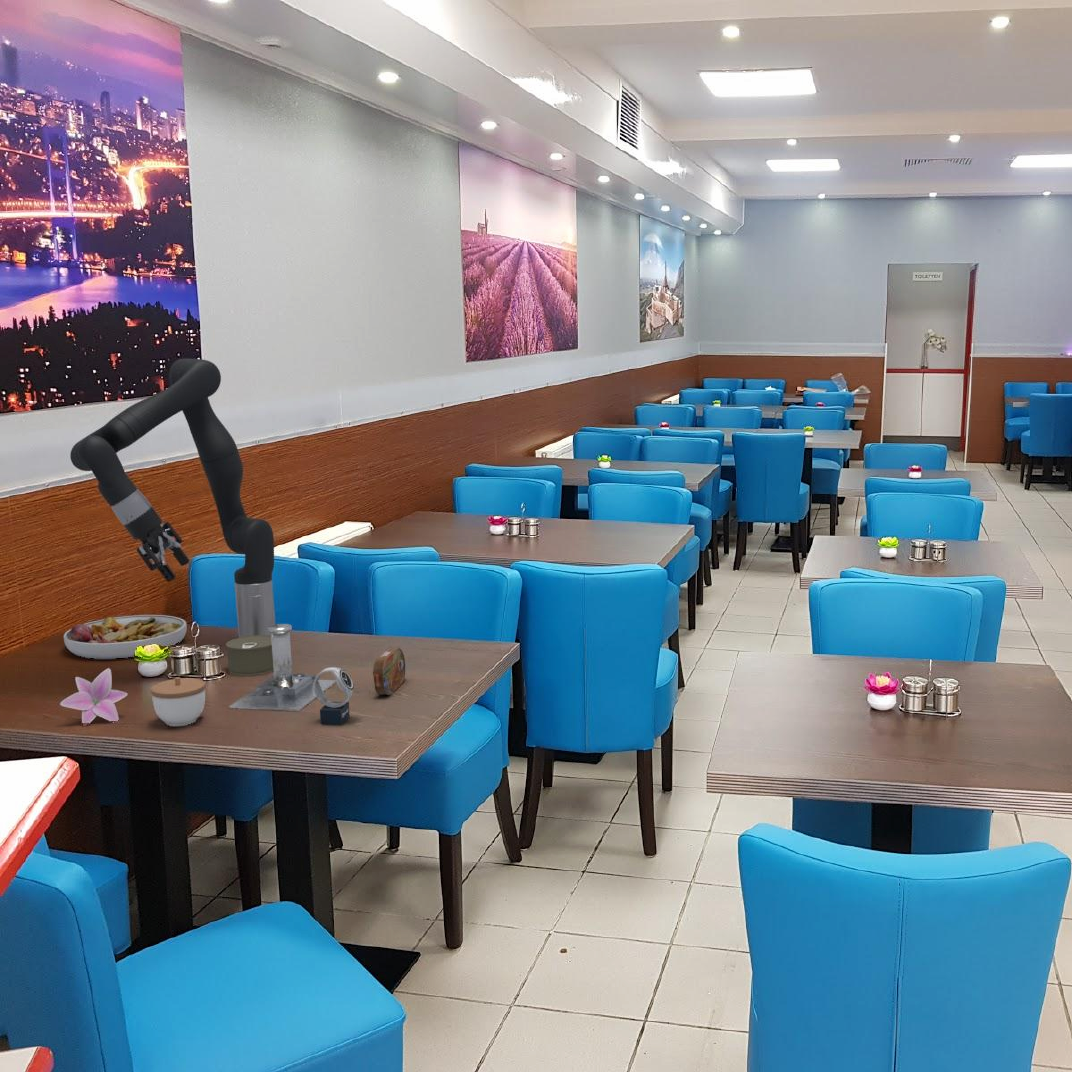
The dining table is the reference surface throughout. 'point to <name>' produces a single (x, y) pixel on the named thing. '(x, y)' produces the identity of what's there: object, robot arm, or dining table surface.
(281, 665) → the steel pin
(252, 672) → the can
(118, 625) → the bowl
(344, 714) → the watch
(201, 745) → the dining table surface
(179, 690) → the lidded jar
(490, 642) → the dining table surface
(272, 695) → the grey fixture plate
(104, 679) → the lily
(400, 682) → the tin
